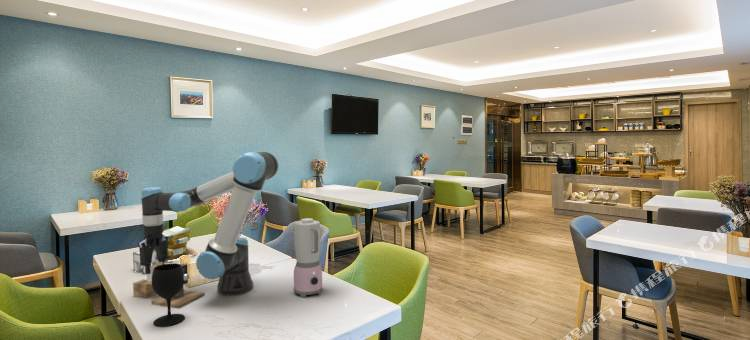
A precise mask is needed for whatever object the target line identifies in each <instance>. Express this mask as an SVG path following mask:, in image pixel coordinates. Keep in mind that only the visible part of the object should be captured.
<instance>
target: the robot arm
mask: <svg viewBox="0 0 750 340" xmlns="http://www.w3.org/2000/svg"><path fill="white" fill-rule="evenodd" d="M278 171H279V162H278V160H277V158H276V156H275V155H273V154H272V153H269V152H267V151H260V152H257V151H256V152H255V151H249V152H246V153H242V154H241V155H239V156H238V157H237V158H236V159H235V161H234V162H233V163H232V171H231V172H228V173H226V174H224V175H221V176H218V177H217V178H214V179H212V180H210V181H207V182H205V183H203V184H201V185H198V186H195V187H193V188H191V189H188V190H183V191H182V190H181V191H175V192H163V188H161V187H157V186H156V187H145V188H143V189H141V198H140V200H141V209H142V210H141V211H142V225H143V226H142V235H143V236H145V237H144V238H143V240H142V241H141V242H138V243H137V246H138V249H139V250H138V251H140V265H141V267H143V266H145V273H146V274H147V275H146V280H147V281H151V282H152V274H153V266H152V263H151V262H152V255H153V250H154V248H155V250H156V255H157V259H158V261H159V262H156V265H164V264H165V263H166V262H165V261H166V260H165V259H167V258H168V244H167V241H168V236H163V234H162V233H163V230H164V224H163V223H164V213H163V212H166V211H167V212H184V211H187V210H188V209H189V208H192V207H198V206H200V205H203V204H205V202H208V201H211V200H212V199H215V198H218V197H220V196H222V195H224V194H227V193H229V192H231V194H230V198H229V200H228V202H227V205H226V208H225V210H224V212H223V215H222V217H221V221H220V223H219V225H218V228H217V231H216V232H215V235H214V237H213V238H211V239H209V240H208V243H207V245H206V247H205V250H204V251H202V252H201V253H200V254H199V255H198V256H197V258H196V261H195V265H196V269H197V270H198V273H199V274H200V275H201V276H202V277H203V278H205V279H208V280H215V279H218V278H219V280H218V283H217V286H216V292H217V294H219V295H222V296H236V295H242V294H246V293H249V292H250V291H252V290H253V289H254V281H253V279H252V276H251V273H250V271H249V270H250V269H249V265H250V264H249V261H250V260H249V243H248V242H249V241H248V238H246V237H240V234H241V231H242V229H243V226H244V224H245V221H246V219H247V216H248V214H249V211H250V210H251V206H252V204H253V202H254V198H255V197H256V194H257V193H258V192H260V191H262V189H263V187H264V184H265V182H266V181H267V180H270V179H272V178H274V177H275V175H277V173H278ZM164 255H165V256H164Z"/></svg>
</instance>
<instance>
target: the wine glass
mask: <svg viewBox="0 0 750 340" xmlns="http://www.w3.org/2000/svg"><path fill="white" fill-rule="evenodd" d="M180 264H181V263H177V262H170V263H164V265H159V266H157V267H155V268H154V270H153V274H152V288H153V290H154V292H155V293H156V294H155V295H156V296H157V295H158V297H159V298H160V297H162V298H164V299H166V301H167V306H166V308H167V314H165V315H161V316H159V317H158V318H156V319H154V321H153V326H154V327H158V328H165V327H172V326H175V325H178V324H180V323H181V324H182V322H183V321H184V320H185V319H186V316H185V315H184V314H182V313H172V311H171V308H172V307H170V305H171V299H172V298H173V297H174V296H175V295H176V294H177V293H178V292H179V291H180V290H181V288H182V286H184V285H183V282H184V274H183V270H182V267H181V265H180Z"/></svg>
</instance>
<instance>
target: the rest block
mask: <svg viewBox="0 0 750 340" xmlns="http://www.w3.org/2000/svg"><path fill="white" fill-rule="evenodd" d="M132 288H133V289H132V291H133V297H134V296H135V297H134V298H142V299H148V298H150V297H153V296H156V295H157V294H156V293H155V292H154V290H153V288H152V285H151V284H147V279H144V278H143V279H141V280H137V281H134V282H133V283H132Z"/></svg>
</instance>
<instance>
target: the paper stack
mask: <svg viewBox="0 0 750 340" xmlns="http://www.w3.org/2000/svg"><path fill="white" fill-rule="evenodd" d="M162 234H163V236H168V241H167V244H168V258H167V259H165V260H166V261H168V260H173V259H177V258H179V257H180V256H182V255H189V254H190V255H192V256H193V255H195V256H196V255H197V251H196V250H195V249H194V248H192V247H189V246H187V245H188V242H190V241H191V230H190V228H189V227H187V228H186V227H182V226H178V225H177V226H173V227H170V228H167V229H163V233H162ZM192 256H191V257H192ZM192 258H193V257H192Z"/></svg>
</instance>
